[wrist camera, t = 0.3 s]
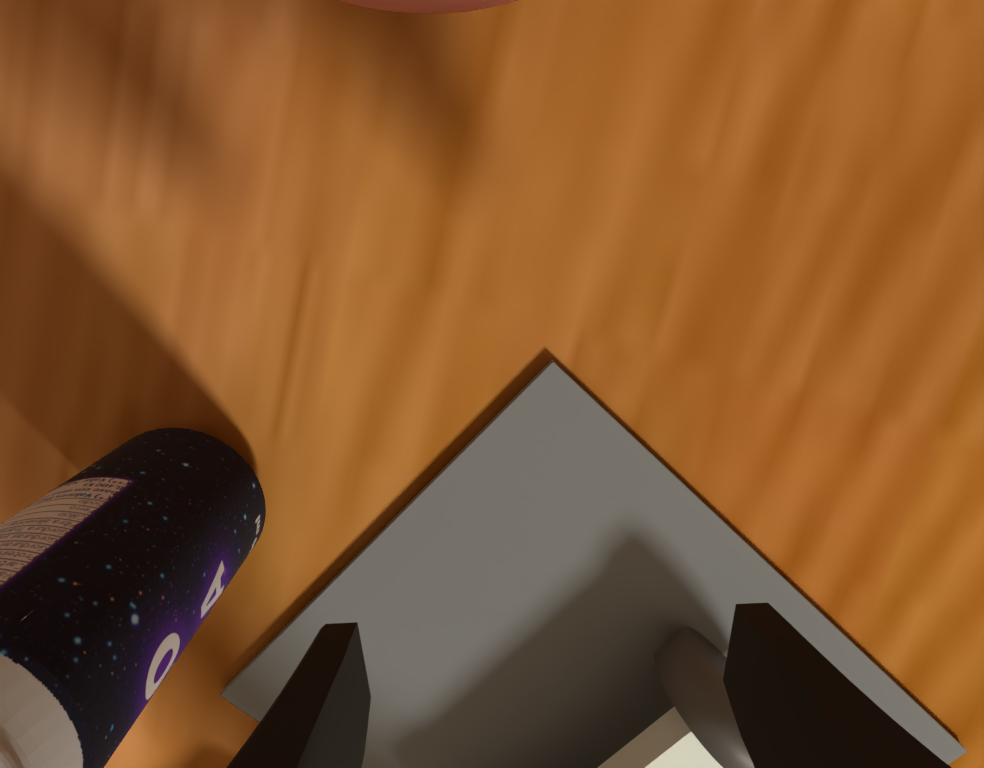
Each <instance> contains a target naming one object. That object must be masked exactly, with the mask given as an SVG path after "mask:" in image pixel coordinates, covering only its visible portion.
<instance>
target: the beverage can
mask: <svg viewBox="0 0 984 768" xmlns="http://www.w3.org/2000/svg"><path fill="white" fill-rule="evenodd" d="M265 513H266V509H265V499H264V494H263V491H262V488H261V485H260V483H259V481H258V478H257V477H256V475H255V473H254V472H253V470H252V468H251V467H250V466H249V465H248V463H247V462H246V461H245V460H244V459H243V458H242V457H241V456H240V455H239V454H238V453H237V452H236V451H235V450H234V449H232V448H231V447H229V446H228V445H227V444H225V443H223V442H222V441H220V440H218V439H216V438H214V437H212V436H210V435H207V434H204V433H201V432H198V431H194V430H189V429H182V428H163V429H156V430H152V431H148V432H145V433H143V434H140V435H138V436H136V437H134V438H132V439H131V440H129V441H127V442H126V443H124V444H123V445H121V446H120V447H118V448H117V449H115V450H114V451H112V452H111V453H109V454H108V455H106V456H105V457H103V458H101V459H100V460H98V461H97V462H95V463H94V464H92V465H91V466H89V467H88V468H86V469H85V470H83V471H82V472H80V473H78V474H77V475H75V476H74V477H72V478H71V479H69V480H68V481H66V482H65V483H63V484H62V485H60V486H59V487H57V488H56V489H54V490H52V491H51V492H49V493H48V494H46V495H45V496H43V497H42V498H40V499H39V500H37V501H36V502H34V503H33V504H31V505H29V506H28V507H26V508H25V509H23V510H22V511H20V512H19V513H17V514H16V515H14V516H13V517H11V518H10V519H8V520H7V521H5V522H3V523H2V524H0V768H104V766H105V765H106V763H107V762H108V760H109V759H110V757H111V756H112V754H113V753H114V751H115V750H116V748H117V747H118V746H119V744H120V743H121V741H122V740H123V738H124V737H125V735H126V734H127V732H128V731H129V729H130V728H131V726H132V725H133V723H134V722H135V721H136V719H137V718H138V716H139V715H140V713H141V712H142V710H143V709H144V707H145V706H146V704H147V703H148V701H149V700H150V698H151V697H152V695H153V694H154V693H155V691H156V690H157V688H158V687H159V685H160V684H161V682H162V681H163V679H164V678H165V676H166V675H167V673H168V672H169V670H170V669H171V668H172V666H173V665H174V663H175V662H176V660H177V659H178V657H179V656H180V654H181V653H182V651H183V650H184V648H185V647H186V645H187V644H188V643H189V641H190V640H191V638H192V637H193V635H194V634H195V632H196V631H197V629H198V628H199V626H200V625H201V623H202V622H203V620H204V619H205V618H206V616H207V615H208V613H209V612H210V610H211V609H212V607H213V606H214V604H215V603H216V601H217V600H218V598H219V597H220V595H221V594H222V592H223V591H224V590H225V588H226V587H227V585H228V584H229V582H230V581H231V579H232V578H233V576H234V575H235V573H236V572H237V570H238V569H239V567H240V566H241V565H242V563H243V562H244V560H245V559H246V557H247V556H248V554H249V553H250V551H251V550H252V548H253V547H254V545H255V544H256V542H257V541H258V539H259V537H260V535H261V532H262V530H263V526H264V522H265Z"/></svg>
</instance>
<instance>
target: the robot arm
mask: <svg viewBox="0 0 984 768" xmlns="http://www.w3.org/2000/svg"><path fill="white" fill-rule="evenodd" d="M723 682H724V685H725V688H726V692H727V695H728V698H729V701H730V704H731V708H732V711H733V714H734V717H735V720H736V723H737V726H738V729H739V732H740V735H741V737H742V740H743V742H744V744H745V747H746V749H747V751H748V753H749V756H750V758H751V760H752V762H753V765H754V767H755V768H951V767H950V766H949V765H948V764H946V763H945V762H944V761H943V760H941V759H940V758H939V757H938V756H936V755H935V754H934V753H933V752H931V751H930V750H929V749H928V748H927V747H925V746H924V745H923V744H922V743H921V742H920V741H918V740H917V739H916V738H915V737H914V736H912V735H911V734H910V733H909V732H908V731H906V730H905V729H904V728H903V727H902V726H900V725H899V724H898V723H897V722H896V721H895V720H893V719H892V718H891V717H890V716H889V715H888V714H887V713H885V712H884V711H883V710H882V709H881V708H880V707H879V706H878V705H876V704H875V703H874V702H873V701H872V700H871V699H870V698H869V697H868V696H866V695H865V694H864V693H863V692H862V691H861V690H860V689H859V688H858V687H857V686H855V685H854V684H853V683H852V682H851V681H850V680H849V679H848V678H847V677H846V676H845V675H843V674H842V673H841V672H840V671H839V670H838V669H837V668H836V667H835V666H834V665H833V664H832V663H831V662H830V661H829V660H827V659H826V658H825V657H824V656H823V655H822V654H821V653H820V652H819V651H818V650H817V649H816V648H815V647H814V646H813V645H812V644H811V643H810V642H809V641H808V640H807V639H806V638H804V637H803V636H802V635H801V634H800V633H799V632H798V631H797V630H796V629H795V628H794V627H793V626H792V625H791V624H790V623H789V622H788V621H787V620H786V619H785V618H784V617H783V616H782V615H781V614H779V613H778V612H777V611H776V610H775V609H774V608H773V607H772V606H771V605H770V604H769V603H747V604H736V606H735V612H734V618H733V624H732V629H731V635H730V641H729V647H728V653H727V658H726V664H725V670H724V676H723ZM370 702H371V694H370V688H369V683H368V677H367V672H366V666H365V661H364V655H363V650H362V644H361V639H360V633H359V628H358V622H353V623H332V624H325V625H324V626H323V627H322V628H321V629H320V630H319V632H318V634H317V635H316V637H315V639H314V640H313V642H312V644H311V645H310V647H309V649H308V650H307V652H306V654H305V655H304V657H303V658H302V660H301V662H300V663H299V665H298V666H297V668H296V670H295V671H294V673H293V674H292V676H291V677H290V679H289V680H288V682H287V683H286V685H285V686H284V688H283V690H282V691H281V693H280V694H279V695H278V697H277V698H276V700H275V701H274V703H273V704H272V706H271V707H270V709H269V710H268V711H267V713H266V714H265V716H264V717H263V719H262V720H261V722H260V723H259V724H258V726H257V727H256V729H255V730H254V732H253V733H252V734H251V736H250V737H249V739H248V740H247V741H246V743H245V744H244V745H243V747H242V748H241V749H240V751H239V752H238V753H237V755H236V756H235V757H234V759H233V760H232V761H231V762H230V764H229V765H228V766H227V768H362V763H363V759H364V753H365V745H366V737H367V729H368V720H369V711H370Z"/></svg>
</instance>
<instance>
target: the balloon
mask: <svg viewBox="0 0 984 768" xmlns="http://www.w3.org/2000/svg"><path fill="white" fill-rule="evenodd" d="M337 1H341V2H345V3H348V4H353V5H357V6H361V7H366V8H371V9H377V10H384V11H392V12H402V13H418V14H436V13H455V12H465V11H472V10H478V9H484V8H489V7H494V6H499V5H503V4H507V3H510V2H514V1H517V0H337Z"/></svg>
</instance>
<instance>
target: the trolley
mask: <svg viewBox="0 0 984 768" xmlns="http://www.w3.org/2000/svg"><path fill="white" fill-rule="evenodd" d="M654 662H655V667H656V670H657V673H658V675H659V678H660V680H661V682H662V685H663V687H664V689H665V691H666V692H667V694H668V696H669V698H670V700H671V701H672V703H673V705H674V707H673V708H672V709H670V710H669V711H668V712H667V713H665V714H664V715H663V716H662V717H660V718H659V719H658V720H657V721H655V722H654V723H653V724H652V725H650V726H649V727H648V728H647V729H645V730H644V731H643V732H642V733H640V734H639V735H638V736H637V737H635V738H634V739H633V740H632V741H630V742H629V743H628V744H627V745H625V746H624V747H623V748H622V749H620V750H619V751H618V752H616V753H615V754H614V755H613V756H611V757H610V758H609V759H608V760H606V761H605V762H604V763H603V764H601V765H600V766H599V767H598V768H755V767H754V765H753V762H752V760H751V758H750V756H749V753H748V751H747V749H746V747H745V744H744V742H743V740H742V737H741V735H740V732H739V729H738V726H737V723H736V720H735V717H734V714H733V711H732V708H731V704H730V701H729V698H728V695H727V692H726V688H725V685H724V682H723V676H724V670H725V664H726V657H725V656H724V655H723V654H722V653H721V651H720V650H718V649H717V648H716V647H715V646H714V645H713V644H712V643H711V642H710V641H709V640H708V639H706V638H705V637H704V636H703V635H701V634H700V633H699V632H697V631H696V630H694V629H692V628H689V627H685V628H683V629H682V630H681V631H680V632H678V633H677V634H676V635H675V636H674V637H672V638H671V639H670V640H669V641H668V642H666V643H665V644H664V645H663V646H662V647H660V648H659V649H658V650H657V651H656V652H655V654H654Z"/></svg>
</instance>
